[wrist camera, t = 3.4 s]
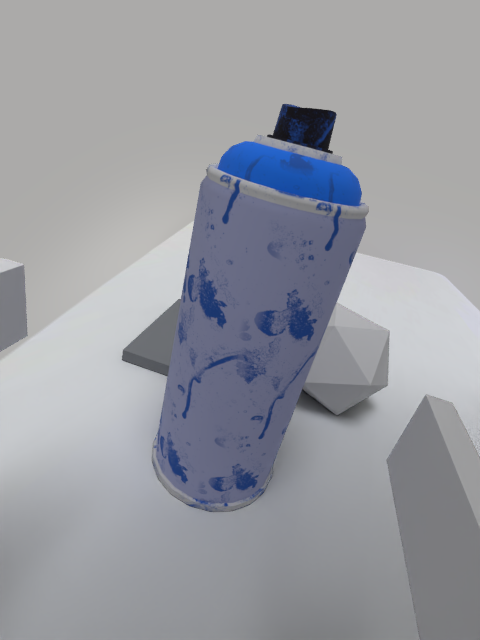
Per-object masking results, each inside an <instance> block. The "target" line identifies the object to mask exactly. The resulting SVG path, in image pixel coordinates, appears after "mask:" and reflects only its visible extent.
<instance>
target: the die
mask: <svg viewBox="0 0 480 640" xmlns="http://www.w3.org/2000/svg"><path fill="white" fill-rule="evenodd" d="M389 333H390V331H389V330H387V329H385V328H383V327H381V326H379V325H378V324H376V323H374V322H372V321H370V320H368V319H366V318H365V317H363V316H361V315H359V314H357V313H355V312H353V311H352V310H350V309H348V308H346V307H344V306H342V305H340V304H339V303H336V305H335V307H334V310H333V312H332V315H331V318H330V320H329V323H328V325H327V328H326V330H325V333H324V335H323V338H322V340H321V343H320V346H319V348H318V351H317V353H316V356H315V358H314V361H313V363H312V366H311V368H310V371H309V374H308V376H307V379H306V381H305V384H304V386H303V389H302V390H304V391H305V392H306V393H308V394H309V395H310V396H312V397H313V398H314V399H316V400H317V401H318V402H320V403H321V404H322V405H324V406H325V407H326V408H327V409H329V410H330V411H331V412H333V413H334V414H335V415H339V414H341V413H342V412H344V411H346V410H347V409H349V408H351V407H352V406H354V405H356V404H357V403H359V402H361V401H362V400H364V399H366V398H367V397H369V396H371V395H372V394H374V393H376V392H377V391H379V390H381V389H382V388H384V387H386V386H388V362H389Z"/></svg>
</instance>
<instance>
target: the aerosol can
mask: <svg viewBox="0 0 480 640" xmlns="http://www.w3.org/2000/svg"><path fill="white" fill-rule="evenodd" d="M335 119H336V113H335V112H333V111H329V110H322V109H312V108H300V107H297V106H294V105H289V104H283V105H282V108H281V111H280V114H279V117H278V121H277V124H276V127H275V130H274V133H273V135H267V137H265V136H261V135H257V136H256V138H255V141H254V142H247V141H245V142H242V143H239V144H237V145H234V146H232V147H231V148H230V149H229V150H228V151H227V152H226V153H225V154H224V155H223V156H222V157H221V160H220V163H219V164H210V165H209V166H208V167H207V169H206V171H207V176H206V177H205V179H204V180H203V181H202V183H201V186H200V191H199V197H198V203H197V209H196V215H195V220H194V226H193V232H192V238H191V244H190V249H189V255H188V261H187V267H186V273H185V279H184V285H183V290H182V296H181V302H180V308H179V314H178V320H177V326H176V331H175V337H174V343H173V349H172V355H171V361H170V366H169V372H168V378H167V384H166V390H165V396H164V402H163V407H162V413H161V419H160V425H159V431H158V433H157V435H156V437H155V439H154V442H153V455H152V463H153V466H154V469H155V471H156V474H157V477H158V479H159V480H160V482H161V483H162V484H163V485H164V486H165V488H166V489H167V490H168V491H169V492H170V494H171V495H173V496H175V497H176V498H178V499H179V500H181V501H182V502H184V503H186V504H187V505H189V506H192V507H196V508H199V509H203V510H206V511H210V512H216V511H233V510H236V509H239V508H242V507H244V506H247V505H250V504H251V503H252V502H253V501H255V500H256V499H257V498H258V497H259V496H260V495H261V494H263V493H264V491H265V489H266V487H267V485H268V483H269V481H270V478H271V476H272V472H273V463H274V460H275V458H276V455H277V452H278V450H279V447H280V445H281V442H282V440H283V437H284V435H285V432H286V430H287V427H288V424H289V422H290V419H291V417H292V414H293V412H294V409H295V407H296V404H297V402H298V399H299V396H300V394H301V391H302V389H303V386H304V384H305V381H306V379H307V376H308V374H309V371H310V368H311V366H312V363H313V361H314V358H315V356H316V353H317V351H318V348H319V346H320V343H321V340H322V338H323V335H324V333H325V330H326V328H327V325H328V323H329V320H330V318H331V315H332V312H333V310H334V307H335V305H336V302H337V300H338V297H339V295H340V292H341V290H342V287H343V284H344V282H345V279H346V277H347V274H348V272H349V269H350V267H351V264H352V262H353V259H354V257H355V254H356V251H357V249H358V246H359V244H360V241H361V239H362V236H363V233H364V231H365V228H366V222H365V216H366V215H367V214H368V212H369V208H368V206H367V205H366V204H365V203H363V202H361V201H360V200H361V195H362V192H361V188H360V184H359V181H358V179H357V177H356V176H355V175H354V174H353V173H352V172H351V170H350V169H349V168H347V167H345V166H342V165H341V163H342V157H341V156H337V155H334V154H332V153H333V152H332V151H330V150H328V148H329V143H330V139H331V135H332V131H333V127H334V123H335Z"/></svg>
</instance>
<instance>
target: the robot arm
mask: <svg viewBox="0 0 480 640" xmlns="http://www.w3.org/2000/svg"><path fill="white" fill-rule="evenodd" d="M26 315H27V314H26V295H25V275H24V265H23V264H21V263H17V262H14V261H11V260H8V259H5V258H2V259H0V352H1V351H2V350H4V349H6V348H7V347H9V346H11V345H13V344H14V343H16V342H18V341H19V340H21V339H23V338H25V337H26V336H27V316H26ZM387 464H388V470H389V475H390V481H391V486H392V492H393V497H394V502H395V508H396V513H397V519H398V524H399V529H400V535H401V540H402V546H403V551H404V556H405V562H406V567H407V573H408V578H409V583H410V589H411V594H412V600H413V605H414V610H415V616H416V621H417V627H418V632H419V637H420V640H480V457H479V455H478V453H477V451H476V449H475V447H474V445H473V443H472V441H471V439H470V437H469V435H468V433H467V431H466V429H465V427H464V425H463V423H462V421H461V419H460V417H459V415H458V413H457V411H456V409H455V407H454V405H453V403H451V402H448V401H445V400H442V399H439V398H436V397H432V396H429V395H425V397H424V398H423V400H422V402H421V403H420V405H419V407H418V408H417V410H416V412H415V413H414V415H413V417H412V418H411V420H410V422H409V423H408V425H407V427H406V428H405V430H404V432H403V433H402V435H401V437H400V438H399V440H398V442H397V444H396V445H395V447H394V449H393V450H392V452H391V454H390V455H389V457H388V459H387Z"/></svg>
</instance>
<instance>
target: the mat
mask: <svg viewBox="0 0 480 640" xmlns="http://www.w3.org/2000/svg"><path fill="white" fill-rule="evenodd" d="M180 302H181V299H178V300H177V301H176V302H175V303H174V304H173V305H172V306H171V307H170V308H169V309H168V310H166V311H165V312H164V313H163V314H162V315H161V316H160V317H159V318H158V319H157V320H155V321H154V322H153V323H152V324H151V325H150V326H149V327H148V328H147V329H146V330H144V331H143V332H142V333H141V334H140V335H139V336H138V337H137V338H136V339H135V340H133V341H132V342H131V343H130V344H129V345H128V346H127V347H126V348H125V349H124V350H123V355H122V360H124V361H126V362H129V363H132V364H135V365H138V366H141V367H144V368H147V369H149V370H152V371H155V372H158V373H161V374H164V375H167V376H168V372H169V366H170V361H171V355H172V349H173V343H174V337H175V331H176V326H177V320H178V314H179V308H180Z"/></svg>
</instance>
